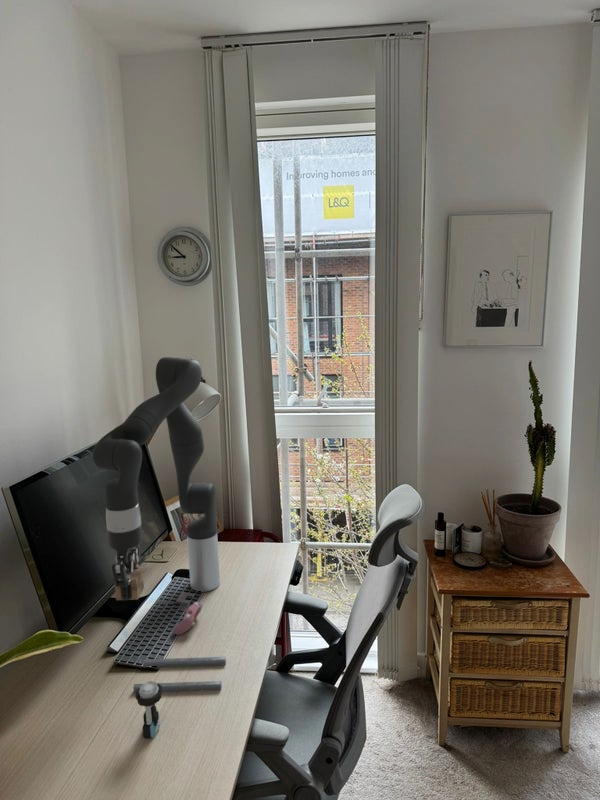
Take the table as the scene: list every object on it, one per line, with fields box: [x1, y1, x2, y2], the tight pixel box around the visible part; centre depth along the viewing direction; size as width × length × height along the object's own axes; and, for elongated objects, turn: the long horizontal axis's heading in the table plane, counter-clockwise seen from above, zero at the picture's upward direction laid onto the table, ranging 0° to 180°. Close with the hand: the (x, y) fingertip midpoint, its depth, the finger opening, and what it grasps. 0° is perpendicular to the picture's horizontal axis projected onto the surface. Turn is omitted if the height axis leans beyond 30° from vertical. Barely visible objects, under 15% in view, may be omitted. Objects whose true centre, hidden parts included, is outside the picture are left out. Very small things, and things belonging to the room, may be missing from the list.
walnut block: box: [113, 568, 145, 601], centre depth 124 cm, size 5×5×5 cm
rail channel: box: [132, 656, 227, 694], centre depth 127 cm, size 10×20×2 cm, turn 91°
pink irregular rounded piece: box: [172, 601, 203, 636], centre depth 146 cm, size 10×5×7 cm, turn 170°
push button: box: [134, 680, 163, 739], centre depth 111 cm, size 7×5×10 cm
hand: (130, 591), depth 125 cm, fingers closed on walnut block, 5 cm apart
